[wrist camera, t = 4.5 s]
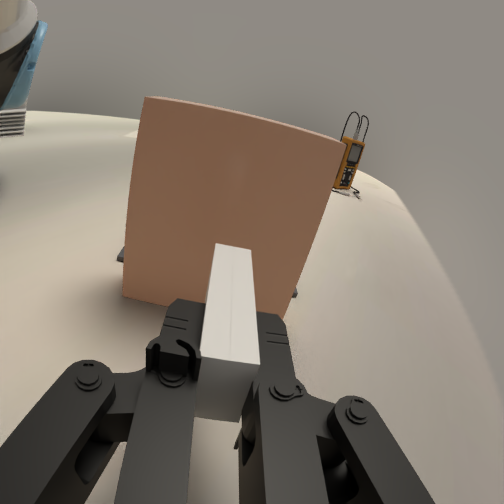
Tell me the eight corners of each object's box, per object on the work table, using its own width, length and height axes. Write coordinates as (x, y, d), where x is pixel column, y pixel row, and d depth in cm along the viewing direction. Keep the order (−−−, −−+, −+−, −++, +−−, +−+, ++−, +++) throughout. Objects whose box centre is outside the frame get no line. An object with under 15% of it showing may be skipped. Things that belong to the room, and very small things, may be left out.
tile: (279, 327, 23) (346, 144, 17) (122, 296, 22) (144, 96, 15) (275, 301, 26) (331, 137, 20) (134, 272, 25) (159, 96, 18)
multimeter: (352, 201, 67) (380, 118, 58) (318, 184, 73) (343, 106, 64) (378, 201, 77) (402, 131, 68) (348, 186, 83) (370, 119, 74)
